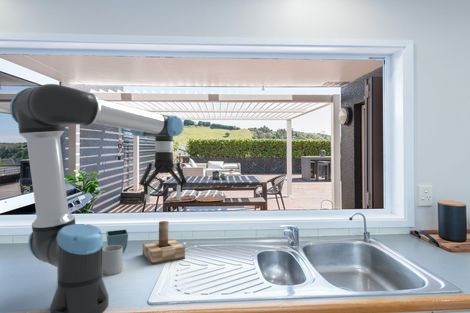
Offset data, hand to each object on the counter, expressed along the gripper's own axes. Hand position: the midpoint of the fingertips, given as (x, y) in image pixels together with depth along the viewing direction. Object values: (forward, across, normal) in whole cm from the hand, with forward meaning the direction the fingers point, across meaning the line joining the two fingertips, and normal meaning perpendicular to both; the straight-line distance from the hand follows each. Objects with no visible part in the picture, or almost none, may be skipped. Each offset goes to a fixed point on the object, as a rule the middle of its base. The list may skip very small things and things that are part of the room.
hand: (163, 200), depth 133 cm
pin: (+23, 0, 0) cm, 23 cm away
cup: (+25, +21, +5) cm, 33 cm away
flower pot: (+24, +16, -16) cm, 33 cm away
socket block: (+24, 0, 0) cm, 24 cm away
